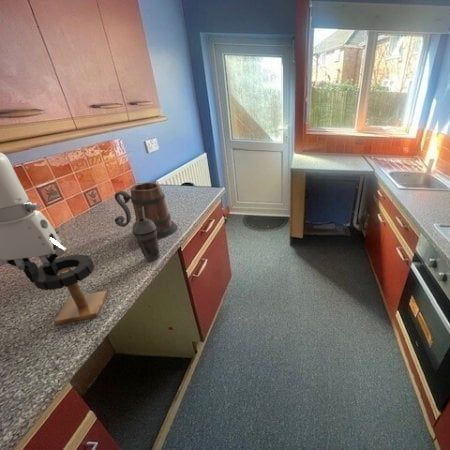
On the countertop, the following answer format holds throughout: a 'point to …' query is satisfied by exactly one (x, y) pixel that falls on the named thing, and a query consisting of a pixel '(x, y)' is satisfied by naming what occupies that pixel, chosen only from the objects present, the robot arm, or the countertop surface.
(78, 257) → the ring
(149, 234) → the beverage cup
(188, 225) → the countertop surface
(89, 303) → the stand
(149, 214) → the tankard
